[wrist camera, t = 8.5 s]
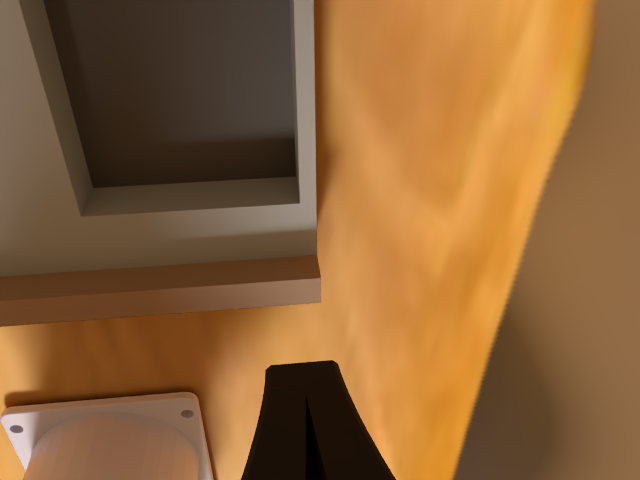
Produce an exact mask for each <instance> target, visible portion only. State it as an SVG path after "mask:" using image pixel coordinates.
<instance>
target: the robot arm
mask: <svg viewBox="0 0 640 480" xmlns="http://www.w3.org/2000/svg"><path fill="white" fill-rule="evenodd" d="M188 410H189V411H188ZM0 421H1V423H2V425H3V427H4V429H5V431H6V433H7V435H8V437H9V439H10V441H11V443H12V445H13V447H14V449H15V451H16V453H17V455H18V457H19V459H20V461H21V463H22V465H23V467H24V469H25V471H26V472H25V475H24V478H23V480H214V479H213V474H212V468H211V463H210V458H209V453H208V448H207V442H206V437H205V432H204V427H203V422H202V416H201V411H200V406H199V401H198V398H197V396H196V395H195V394H194V393H191V392H177V393H165V394H153V395H142V396H130V397H118V398H107V399H95V400H83V401H72V402H60V403H48V404H37V405H25V406H13V407H8V408H6V409H5V410H4V411H3V413H2V415H1V418H0ZM241 480H396V479H395V477H394V476H393V474H392V472H391V471H390V469H389V468H388V466H387V464H386V463H385V461H384V459H383V458H382V456H381V454H380V452H379V451H378V449H377V447H376V445H375V443H374V442H373V440H372V438H371V436H370V435H369V433H368V431H367V429H366V427H365V425H364V423H363V422H362V420H361V418H360V416H359V414H358V412H357V409H356V407H355V405H354V403H353V401H352V399H351V397H350V395H349V392H348V390H347V388H346V385H345V383H344V380H343V377H342V375H341V372H340V369H339V366H338V364H337V363H336V362H334V361H333V360H330V361H317V362H305V363H293V364H281V365H271V366H270V367H269V368H267V369H266V373H265V387H264V394H263V400H262V405H261V410H260V415H259V419H258V423H257V428H256V431H255V435H254V438H253V442H252V445H251V449H250V452H249V456H248V460H247V463H246V466H245V469H244V472H243V475H242V478H241Z"/></svg>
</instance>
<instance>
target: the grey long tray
mask: <svg viewBox="0 0 640 480" xmlns="http://www.w3.org/2000/svg"><path fill="white" fill-rule="evenodd" d="M310 303H321V276H320V270H319V264H318V258H317V215H316V136H315V58H314V0H0V327H3V326H16V325H30V324H43V323H56V322H70V321H83V320H96V319H110V318H123V317H136V316H150V315H163V314H176V313H190V312H203V311H216V310H230V309H243V308H256V307H270V306H283V305H296V304H310Z"/></svg>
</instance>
